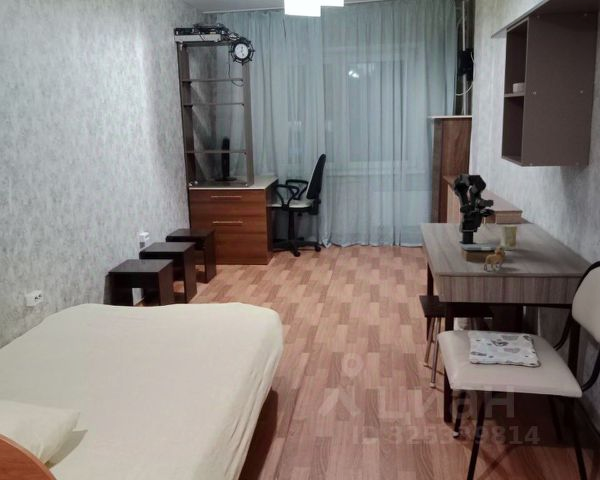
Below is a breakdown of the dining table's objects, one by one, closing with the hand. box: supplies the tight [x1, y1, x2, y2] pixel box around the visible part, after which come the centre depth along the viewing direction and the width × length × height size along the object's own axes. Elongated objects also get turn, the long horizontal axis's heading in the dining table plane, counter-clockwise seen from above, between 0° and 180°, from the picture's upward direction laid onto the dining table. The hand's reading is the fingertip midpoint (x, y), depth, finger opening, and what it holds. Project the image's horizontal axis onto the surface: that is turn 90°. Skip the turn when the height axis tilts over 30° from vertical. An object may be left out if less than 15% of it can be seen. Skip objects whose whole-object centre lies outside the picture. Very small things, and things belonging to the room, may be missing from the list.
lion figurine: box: [483, 247, 505, 271], centre depth 258 cm, size 15×5×9 cm, turn 137°
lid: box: [460, 243, 506, 251], centre depth 276 cm, size 13×18×1 cm
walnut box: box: [460, 246, 506, 262], centre depth 277 cm, size 12×18×4 cm, turn 87°
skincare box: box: [499, 224, 518, 251], centre depth 291 cm, size 6×4×12 cm
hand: (479, 226), depth 286 cm, fingers closed
